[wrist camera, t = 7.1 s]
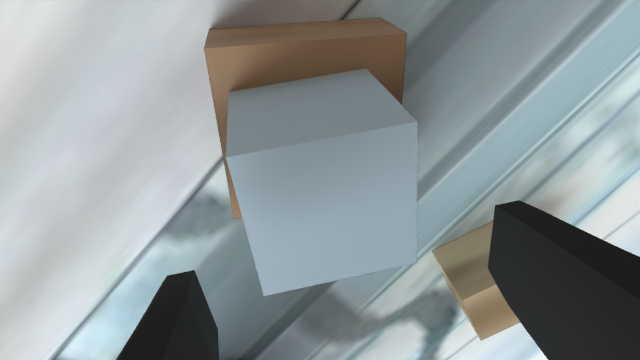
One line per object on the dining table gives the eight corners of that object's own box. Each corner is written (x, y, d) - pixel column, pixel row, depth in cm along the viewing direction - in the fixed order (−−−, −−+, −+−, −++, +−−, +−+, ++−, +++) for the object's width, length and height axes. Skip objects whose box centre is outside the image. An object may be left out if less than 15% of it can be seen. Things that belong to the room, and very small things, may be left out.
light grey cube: (373, 183, 18) (416, 263, 13) (256, 206, 17) (263, 296, 13) (366, 68, 15) (417, 121, 11) (228, 92, 15) (225, 157, 10)
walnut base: (372, 160, 21) (394, 198, 18) (234, 176, 20) (233, 218, 17) (377, 15, 18) (406, 33, 15) (209, 27, 17) (204, 48, 14)
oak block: (506, 261, 27) (546, 309, 23) (450, 289, 27) (480, 340, 24) (492, 219, 24) (533, 265, 21) (431, 250, 25) (462, 300, 21)
